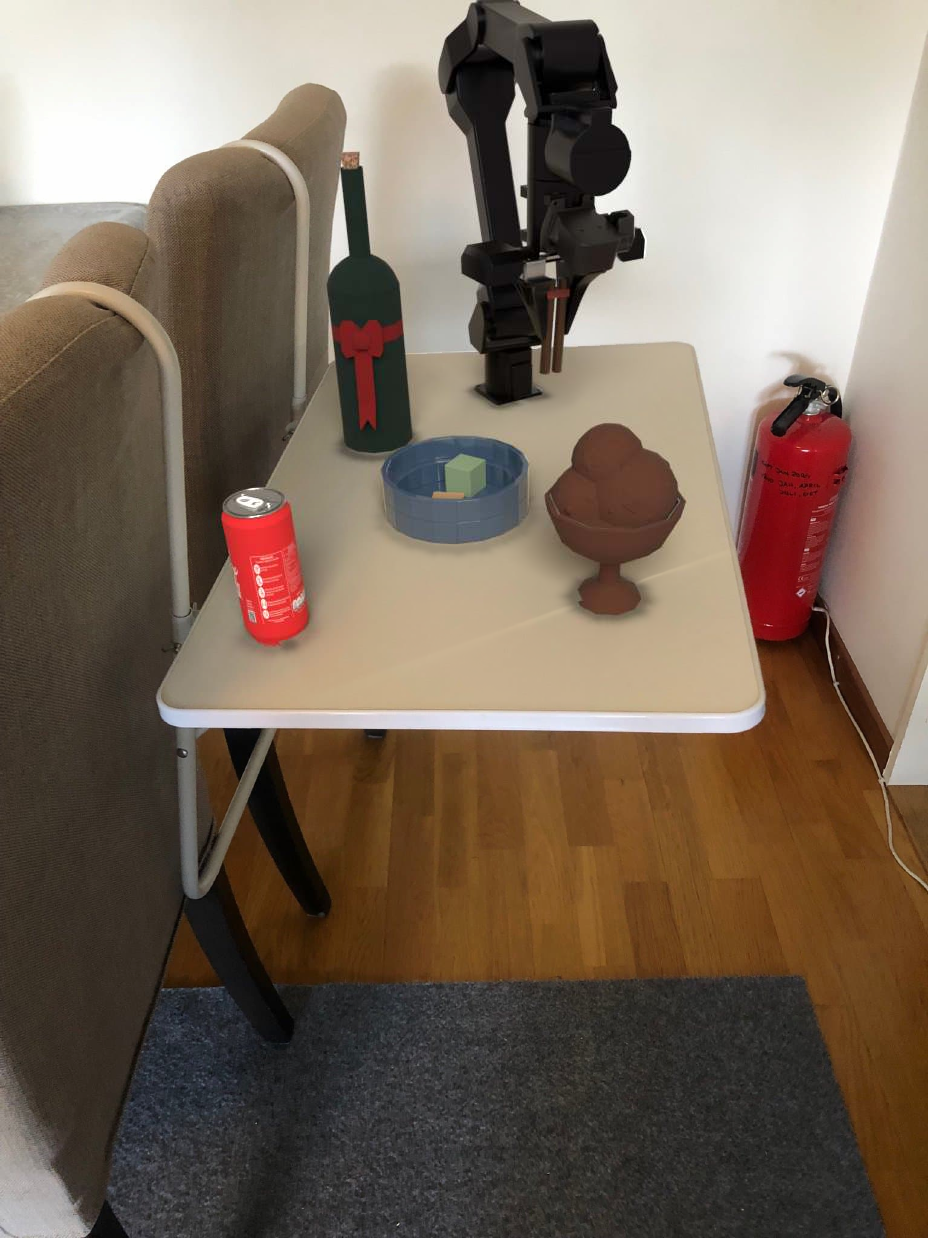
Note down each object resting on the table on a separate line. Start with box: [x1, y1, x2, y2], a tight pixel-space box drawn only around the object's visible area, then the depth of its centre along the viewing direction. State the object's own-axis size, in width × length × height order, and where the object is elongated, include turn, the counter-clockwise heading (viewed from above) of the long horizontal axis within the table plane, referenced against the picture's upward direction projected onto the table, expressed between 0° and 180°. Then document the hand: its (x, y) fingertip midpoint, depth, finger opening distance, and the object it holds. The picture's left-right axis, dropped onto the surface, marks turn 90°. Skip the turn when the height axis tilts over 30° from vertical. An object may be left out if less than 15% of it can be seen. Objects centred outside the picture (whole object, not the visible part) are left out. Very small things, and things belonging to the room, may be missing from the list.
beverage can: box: [221, 486, 309, 647], centre depth 73 cm, size 5×5×12 cm
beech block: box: [432, 492, 465, 499], centre depth 87 cm, size 3×3×3 cm
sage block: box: [445, 454, 486, 497], centre depth 93 cm, size 3×3×3 cm
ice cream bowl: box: [543, 422, 687, 616], centre depth 74 cm, size 11×11×15 cm
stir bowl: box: [380, 435, 530, 544], centre depth 90 cm, size 14×14×5 cm
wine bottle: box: [326, 151, 413, 454], centre depth 96 cm, size 8×10×30 cm
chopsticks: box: [539, 276, 570, 375], centre depth 97 cm, size 1×3×10 cm, turn 108°
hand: (552, 336), depth 97 cm, fingers closed on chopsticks, 2 cm apart
